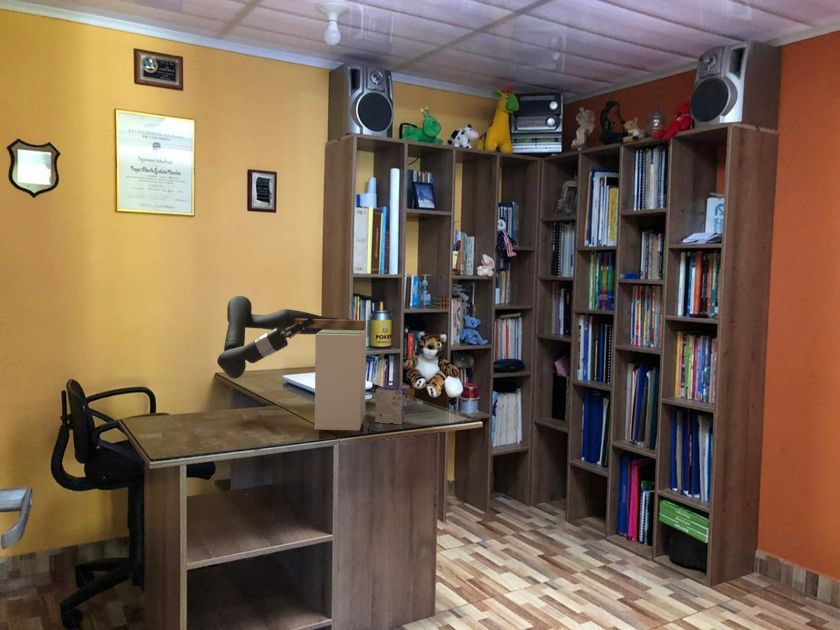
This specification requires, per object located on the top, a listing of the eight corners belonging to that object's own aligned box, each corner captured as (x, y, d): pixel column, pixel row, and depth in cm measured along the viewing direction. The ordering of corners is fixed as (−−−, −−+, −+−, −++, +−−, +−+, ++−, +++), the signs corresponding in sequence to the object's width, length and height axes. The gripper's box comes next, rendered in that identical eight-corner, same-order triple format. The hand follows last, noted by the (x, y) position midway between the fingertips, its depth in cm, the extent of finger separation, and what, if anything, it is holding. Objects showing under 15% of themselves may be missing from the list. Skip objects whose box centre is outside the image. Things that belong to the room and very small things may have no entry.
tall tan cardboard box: (314, 429, 233) (315, 333, 230) (324, 413, 257) (325, 326, 254) (359, 430, 233) (361, 334, 231) (364, 414, 257) (366, 327, 254)
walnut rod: (294, 327, 247) (294, 319, 247) (295, 326, 250) (296, 318, 250) (365, 329, 247) (365, 320, 247) (365, 328, 250) (365, 320, 250)
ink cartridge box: (405, 421, 248) (406, 381, 246) (402, 425, 242) (403, 383, 241) (378, 419, 250) (379, 379, 248) (374, 423, 244) (375, 382, 243)
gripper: (261, 335, 242) (305, 311, 241) (270, 331, 256) (311, 308, 255) (272, 354, 242) (315, 330, 241) (280, 349, 256) (321, 326, 255)
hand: (313, 319), depth 248 cm, fingers closed on walnut rod, 3 cm apart
